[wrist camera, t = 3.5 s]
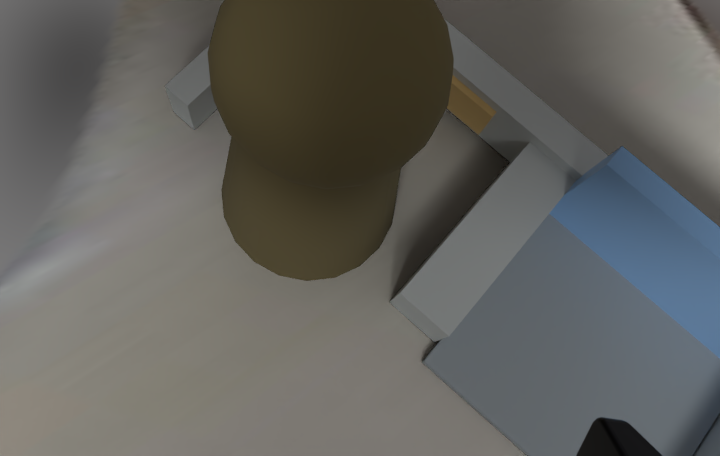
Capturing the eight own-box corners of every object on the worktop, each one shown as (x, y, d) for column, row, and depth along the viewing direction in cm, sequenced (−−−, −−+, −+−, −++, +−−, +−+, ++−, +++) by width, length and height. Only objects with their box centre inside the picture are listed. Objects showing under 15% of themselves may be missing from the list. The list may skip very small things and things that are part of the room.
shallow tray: (654, 569, 22) (763, 617, 17) (156, 127, 23) (126, 55, 18) (787, 357, 24) (916, 346, 19) (327, -30, 26) (339, -130, 21)
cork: (285, 315, 22) (295, 238, 12) (187, 169, 23) (113, -27, 12) (429, 219, 24) (554, 72, 13) (332, 84, 24) (376, -155, 14)
